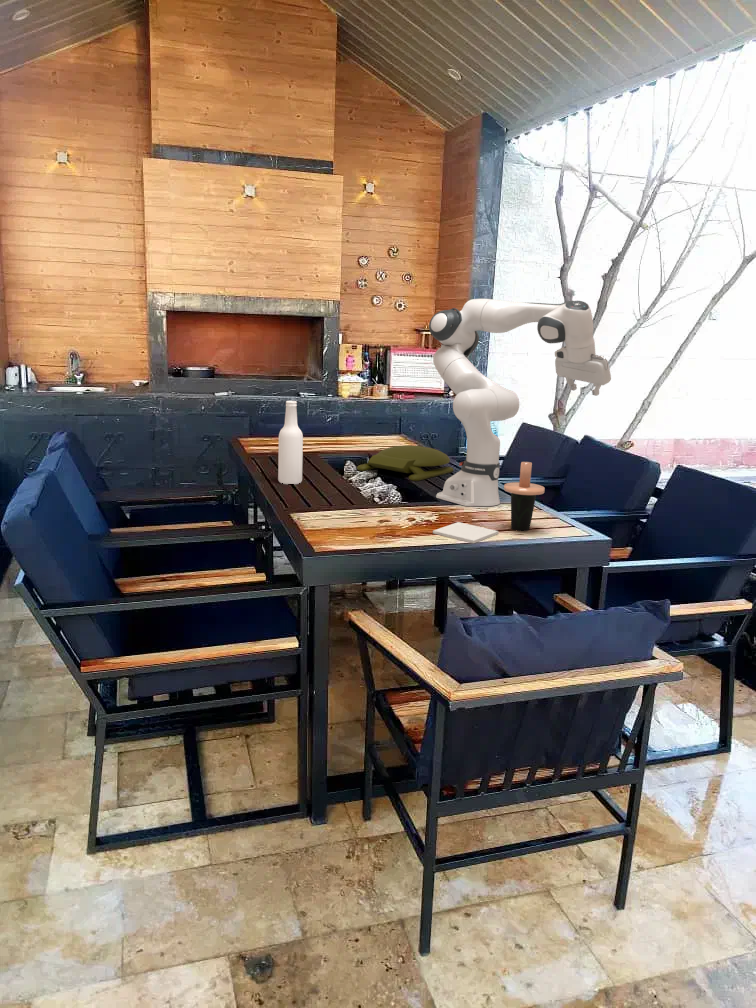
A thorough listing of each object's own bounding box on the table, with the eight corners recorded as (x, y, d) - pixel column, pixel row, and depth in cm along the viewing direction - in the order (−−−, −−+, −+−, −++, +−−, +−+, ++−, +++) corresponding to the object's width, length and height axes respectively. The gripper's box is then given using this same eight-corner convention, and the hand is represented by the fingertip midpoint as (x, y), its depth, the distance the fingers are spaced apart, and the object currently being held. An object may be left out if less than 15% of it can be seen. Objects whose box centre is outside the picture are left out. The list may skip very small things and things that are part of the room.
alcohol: (299, 479, 287) (300, 399, 280) (304, 484, 279) (305, 402, 272) (276, 480, 285) (277, 399, 278) (280, 485, 277) (281, 402, 270)
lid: (496, 490, 228) (498, 462, 226) (515, 484, 238) (518, 457, 236) (533, 497, 221) (535, 468, 219) (551, 490, 231) (553, 463, 228)
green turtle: (416, 483, 292) (418, 458, 290) (353, 471, 310) (354, 447, 307) (462, 470, 320) (464, 447, 317) (402, 460, 337) (403, 438, 335)
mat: (432, 533, 223) (432, 530, 223) (458, 524, 234) (458, 522, 234) (473, 543, 215) (473, 540, 215) (498, 533, 226) (498, 531, 226)
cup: (537, 531, 230) (541, 493, 227) (514, 532, 228) (518, 493, 225) (525, 525, 237) (529, 487, 234) (503, 525, 235) (506, 487, 232)
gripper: (613, 353, 237) (616, 394, 244) (563, 344, 253) (567, 383, 259) (600, 360, 234) (603, 401, 241) (550, 351, 250) (554, 390, 257)
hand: (584, 392), depth 250 cm, fingers open, 8 cm apart
